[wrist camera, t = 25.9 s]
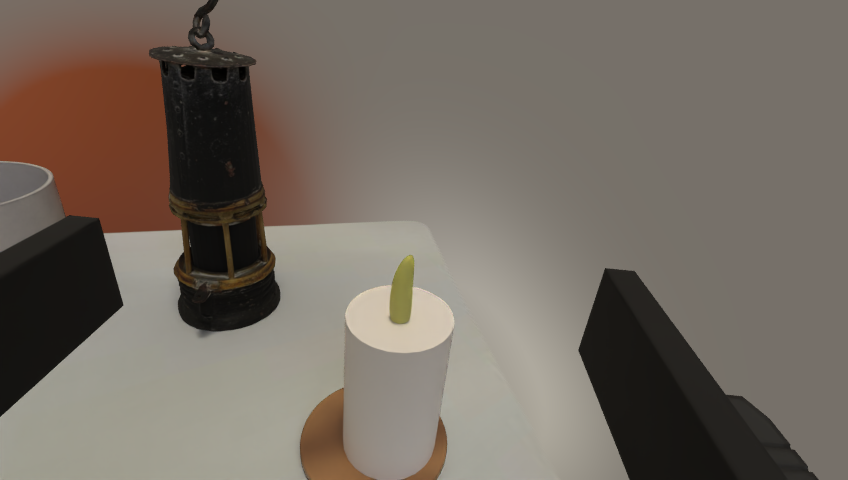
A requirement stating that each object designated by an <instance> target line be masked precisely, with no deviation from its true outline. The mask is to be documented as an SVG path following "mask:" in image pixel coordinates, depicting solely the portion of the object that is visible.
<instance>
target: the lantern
mask: <svg viewBox="0 0 848 480" xmlns="http://www.w3.org/2000/svg"><path fill="white" fill-rule="evenodd" d="M217 2H218V0H209V1H208V2H207V4H206V5H204V6H202V7H200V8H199V9H198V11H197V12H196V14H195V15H194V19H193V28H192V29H191V30H190V31H189V35H188V39H189V41H190V44H191V45H192V46H189V47H176V46H172V47H158V48H153V49H151V50H149V55H150V56H151V57H152V58H154V59H158V60H159V62H160V68H161V75H162V86H163V94H164V105H165V113H166V114H165V115H166V124H167V137H168V153H169V169H170V192H169V202H170V204H169V207H170V209H171V212H172V213H173V214H174V215H175V216H177V217H178V218H180V219H181V227H182V237H183V246H184V252H183V253H182V255H181V256H180V257H179V259H178V260H177V262H176V264H175V267H174V274H175V276H176V277H177V279H178V281H179V286H180V291H181V295H180V298H179V300H178V309H179V313H180V315H181V317H182V319H183V320H184V321H185V322H186V323H188V324H190V325H192V326H194V327H196V328H197V329H203V330H210V331H223V330H232V329H237V328H242V327H245V326H248V325H252V324H254V323H256V322H258V321H260V320H261V319H263V318H265V317H267V316H268V315H269V314H271V313H272V311H273V310H274V309H275V308H276V307H277V305H278V303H279V301H280V290H279V286H278V284H277V283H276V281H275V274H274V271H273V270H274V267H275V256H274V254H273V252H272V251H271V250H270V249H269V248H268V247H267V246H266V238H265V231H264V225H263V217H262V211H263V210H264V209H265V208H266V202H267V198H266V197H265V190H264V187H263V184H262V181H261V175H260V166H259V157H258V149H257V141H256V131H255V123H254V114H253V105H252V95H251V86H250V76H249V66H251V65H255V64H256V60H255V59H253V58H251V57H249V56H245V55H241V54H237V53H235V52H233V53H232V52H227V51H222V50H220V49H218V48H215V49H212V48H213V47H214V39H213V37H212V35H211V34H210V33H209V31H208V30H209V26H210V20H209V17H208V15H206V14H208V13H209V12H211V11H212V10H213V9H214V7H215V6H216V4H217ZM202 18H203V20H202V27H200V21H201V19H202ZM195 36H196V37H198V38H204V37H206V39H207V43H205V44H202V45H200V44H199V43H198V42H197V41H196V39H195ZM183 64H184V65H186V66H184V67H181V65H183ZM173 207H174V208H173ZM259 234H260V235H259ZM189 239H190V242H189ZM260 241H261V242H260ZM190 245H191V247H190Z"/></svg>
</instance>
